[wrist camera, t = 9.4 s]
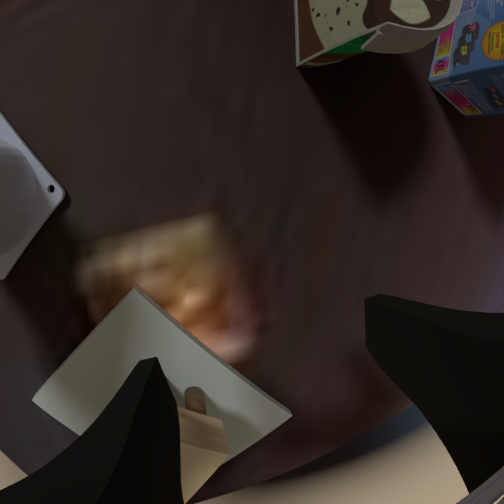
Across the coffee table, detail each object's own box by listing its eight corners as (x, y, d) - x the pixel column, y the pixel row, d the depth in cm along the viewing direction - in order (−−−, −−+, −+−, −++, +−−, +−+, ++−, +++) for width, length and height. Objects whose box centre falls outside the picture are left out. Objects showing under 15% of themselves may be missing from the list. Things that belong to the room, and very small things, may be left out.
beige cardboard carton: (112, 438, 21) (104, 500, 15) (149, 362, 20) (143, 430, 14) (168, 456, 22) (171, 517, 16) (215, 387, 21) (229, 454, 15)
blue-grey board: (34, 394, 19) (31, 400, 19) (136, 284, 19) (134, 289, 18) (178, 483, 24) (178, 489, 24) (289, 409, 24) (292, 415, 24)
